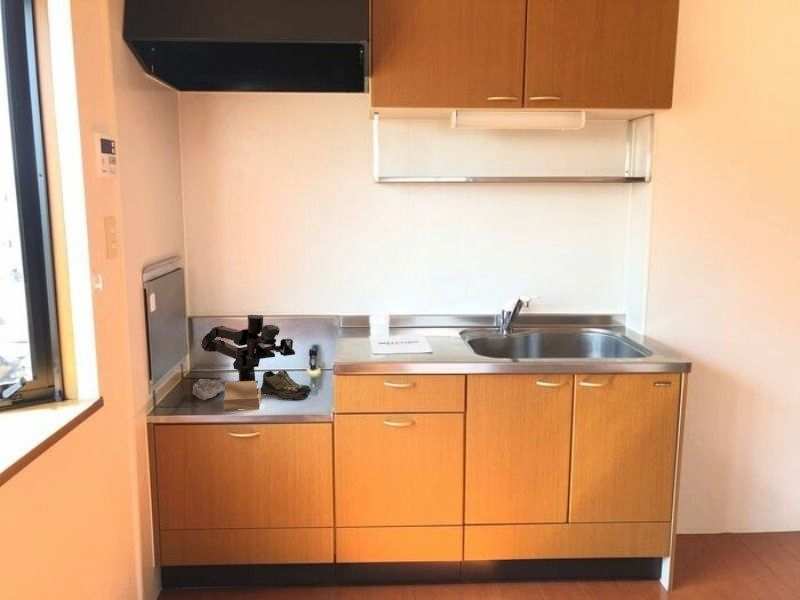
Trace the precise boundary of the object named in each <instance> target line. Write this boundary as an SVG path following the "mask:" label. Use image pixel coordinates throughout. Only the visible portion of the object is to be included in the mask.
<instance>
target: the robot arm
mask: <svg viewBox="0 0 800 600" xmlns="http://www.w3.org/2000/svg"><path fill="white" fill-rule="evenodd" d="M280 331H281V329H280V328H279V326H278V325H275V324H264V316H263V315H262V314H261V315H260V314H248V315H247V328H243V329H241V330H239V329H235V328H231V327H227V326H225V325H218V326H215V327H212V328H211V330H210V331H209V332H208V333H207V334H205V335H204V336H203V338H202V340H201V342H202V344H201V343H200V346H201V345H202V346H201V347H200V348H202V349H204V350H203V351H204V352H206V353H215V352H216V353H219V354H222V355H224V356H227V357H229V358H231V359H234V361H233V363H232V366H233V369H234V370H236V371H238V380H237V381H235V382H242V381H257V384H258V383H259V381H258V380H256V371H255V368H258V367H260V366H259V365H260V362H261V360H262V359H269V358H275V357H276V353H279V354H280V355H281V356H283V357H288V356H294V355H296V351H295V349H293V347H294V346H293V345H294V340H293V339H292V338H282V339H281V340H280V345H277V344H276V343H277V339H276V337H277V336H278V335H279V333H280ZM216 337H221V338H225V339H226V340H229V341H233V344H234V345H233V344H230V343H228V342H226V341H225V342H224V341H221V340H215V338H216ZM235 345H237V346H235ZM238 346H239V347H238Z"/></svg>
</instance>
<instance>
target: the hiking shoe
mask: <svg viewBox="0 0 800 600" xmlns="http://www.w3.org/2000/svg"><path fill="white" fill-rule="evenodd" d="M260 388H261V395H264V394H266V396H275V397H276V396H277V397H279V398H280V399H281V398H282V400H285V399H286V400H285V401H298V400H299V399H300V400H306V399H307V398H308V397H309V395H310V394H311V392H312V389H311V387H310V385H306V384H299V383H297V382H296V381H295V380H294V379H293V378H291V376H290V375H289V373H288V372H287V370H286V369H283V370H279V371H278V372H277V373H275V372H273V371H272V370H268V371H264V373H263V375H262V383H261V387H260Z"/></svg>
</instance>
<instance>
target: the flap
mask: <svg viewBox="0 0 800 600" xmlns="http://www.w3.org/2000/svg"><path fill="white" fill-rule="evenodd" d="M257 381H258V380H256V381H242V382H236V381H225V382H224V386H225V391H224V397H225V400H230V399H250V398H257V388H258V387H257V384H258V383H257Z"/></svg>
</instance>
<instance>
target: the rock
mask: <svg viewBox="0 0 800 600" xmlns="http://www.w3.org/2000/svg"><path fill="white" fill-rule="evenodd" d="M223 392H224V393H225V384H223V383H221V382H220V380H216V379H214V380H211V379H209V378H199V380H198V381H196V382H195V383H193V386H192V395H193V396H196V398H197V399H201V400H202V401H206V400H209V399H211V398H214V397H216V396H217V395H219V394H222V393H223Z"/></svg>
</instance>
